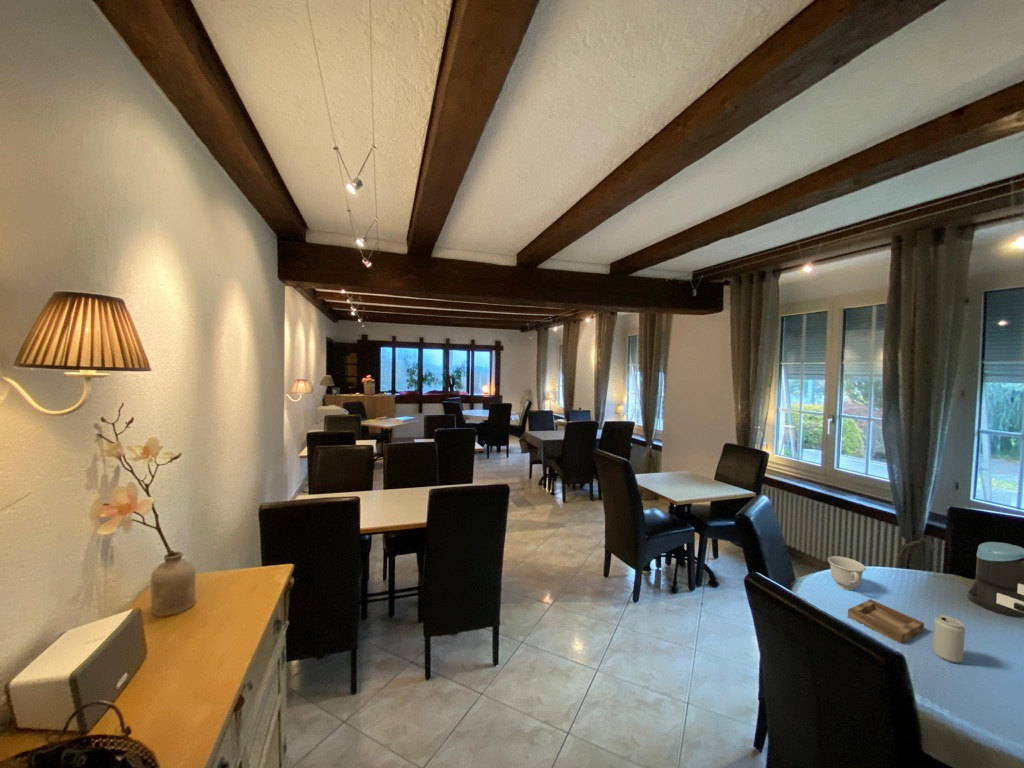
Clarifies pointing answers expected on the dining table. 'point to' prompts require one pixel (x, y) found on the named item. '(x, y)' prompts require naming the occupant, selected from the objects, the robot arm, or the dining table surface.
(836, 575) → the teacup
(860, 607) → the tray
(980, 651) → the dining table surface
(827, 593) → the dining table surface
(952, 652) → the beverage can
